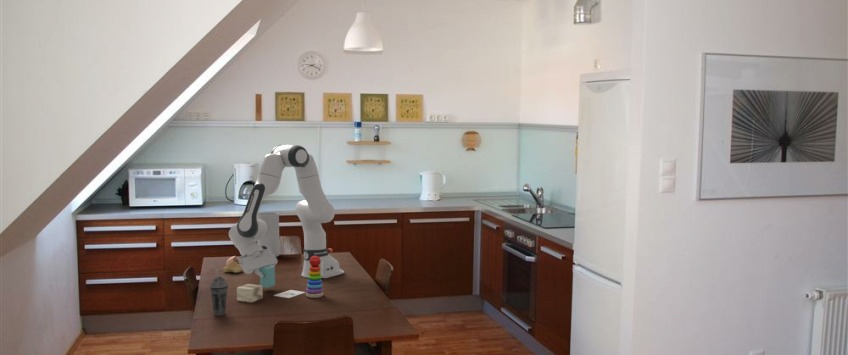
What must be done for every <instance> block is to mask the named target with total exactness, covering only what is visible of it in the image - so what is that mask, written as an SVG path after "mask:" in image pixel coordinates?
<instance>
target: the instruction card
mask: <svg viewBox="0 0 848 355" xmlns="http://www.w3.org/2000/svg"><path fill="white" fill-rule="evenodd" d="M306 292H307V291H306ZM306 292H305V291H299V290H294V289H289V290H286V291H283V292H280V293H276V294H274V295H273V297H279V298H285V299H290V298H294V297H297V296H299V295H302V294H306Z"/></svg>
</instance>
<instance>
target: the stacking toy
mask: <svg viewBox="0 0 848 355" xmlns="http://www.w3.org/2000/svg"><path fill="white" fill-rule="evenodd" d="M309 262H310V264H311V266H310V268H309V269H310V271H309V276H308V278H307V279H308V280H307V285H306V289H305V291H306V293H305V296H306V297H307V298H311V299H312V298H313V299H314V298H315V299H316V298H321V297H323V296H324V292H323V291H324V289H323V280H322V278H321V275H320V274H321V272H320V271H319V270H320V269H321V268H320V266H319V264H320V262H321V260H320V258H319V257H318V256H312V257H311V258H310V261H309Z"/></svg>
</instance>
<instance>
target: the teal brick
mask: <svg viewBox="0 0 848 355" xmlns="http://www.w3.org/2000/svg"><path fill="white" fill-rule="evenodd" d="M275 269H276V268H275V266H265V267H261V268H259V270H260V272H262V273H264V274H265V277H264V278H261V277H260V276H259V285H262V286H263V288H268V289H269V288H271V287H275V286H276V272H275V271H276V270H275Z"/></svg>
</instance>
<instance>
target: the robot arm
mask: <svg viewBox="0 0 848 355" xmlns="http://www.w3.org/2000/svg"><path fill="white" fill-rule="evenodd" d="M285 168H294V171H295V175H296V180H297V185H298V191H299V193H300V194H301V195H302V196H303V197H304V199H302V200H299V201H298V202H297V204H296V205H295V209H294V210H295V214H296V216H297V217H298V218H299V220H300V224H301V227H302V231H303V239H304V240H303V241H304V242H303V244H304V248H303V265H302V266H303V267H302V271H301V276H302V277H303V278H306V279H309V278H308V276H309V271H310V269H309V268H310V266H311V264H310V262H309V261H310V258H311V257H312V256H318V257H319V258H320V260H321V262H320V264H319V266H320V268H321V269H320V270H319V271H320V272H321V274H320V275H321V279H327V278H332V277H335V276H339V275H342V274H345V271H344V270H343V269H341V267H340V263H339V261H338V260H337V259H336V258H334V257H333V256H332V255H330V253H333V248H331V247H330V248H327V237H326V236H327V233H326V231H325V229H324V228H323V226H322V224H326V223H330V222H331V221H332V220H334V217H335V213H336V211H335V207H334V206H333V205H332V204H331V203H330V202H329V200H328V199H327V197H326V195H325V193H324V190H323V188H322V186H321V185H322V184H321V180H320V175H319V170H318V167H317V163H316V161H315V159H314V156H313V155H312V154H310V153H308V150H307V149H306V148H305V147H304V146H301V145H298V144H297V145H296V144H279V145H277V146H275V147H273V148H272V150H271V152H270V153H268V154H265V155H264V157H263V159H262V162H261V164H260V166H259V169H258V173H257V177H256V180H255V183H254V185H253V187H252V189H251V191H250V193H249V197H248V199H247V202H246V205H245V208H244V211H243V213H242V215H241V216H240V217H239V219H238V220H237V223H235V224H233V225H232V226H231V228H230V229H229V231H228V237H229V239H230V241H231V243H232V244H233V245H234V247H235V248H236V249H237V250H238V251H239V253H240V256H238V261H239V263H240V264H239V265H241V268H242V269H243V270H242V271H243V272H244V274H246V275H250V274H253V273H255V274H256V275H257V276H259V278H260V277H261V278H264V277H265V274H264V273H262V272H260V270H259V268H261V267H265V266H273V267H275V266H276V265H277V264H278V258H277V257H275V256H274V254H273V253H272V252H271V251H269V248H268V246H262V245H257V241H258V240H260V239H262V238H263V237H264V236H266V234H267V232H268V225H267V223H266V222H265V221H264V220H261V219H258V218H257V215H258V213H260V212H259V211H260V208H261V206H262V203H263V200H264V199H265V198H266V197H268V196H270V195H273V194H274V193H276V192H277V190H278V188H279V186H280V183H281V179H282V175H283V171H284V169H285Z"/></svg>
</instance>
